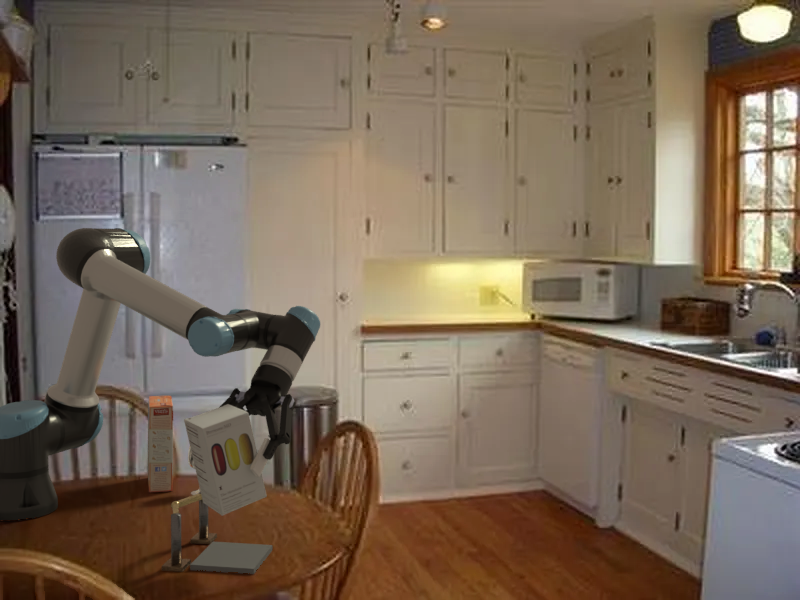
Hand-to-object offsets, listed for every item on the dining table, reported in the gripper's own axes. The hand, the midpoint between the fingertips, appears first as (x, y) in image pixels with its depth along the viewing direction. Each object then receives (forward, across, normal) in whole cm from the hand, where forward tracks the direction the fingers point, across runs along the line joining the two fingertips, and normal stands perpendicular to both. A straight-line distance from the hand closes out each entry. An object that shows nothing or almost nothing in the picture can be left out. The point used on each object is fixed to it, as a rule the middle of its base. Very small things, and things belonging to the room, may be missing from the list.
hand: (226, 468), depth 156 cm
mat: (+11, +1, -15) cm, 18 cm away
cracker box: (-10, +47, -36) cm, 60 cm away
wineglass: (-10, +34, -36) cm, 50 cm away
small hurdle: (+12, +10, -14) cm, 21 cm away
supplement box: (+3, -1, -6) cm, 7 cm away
